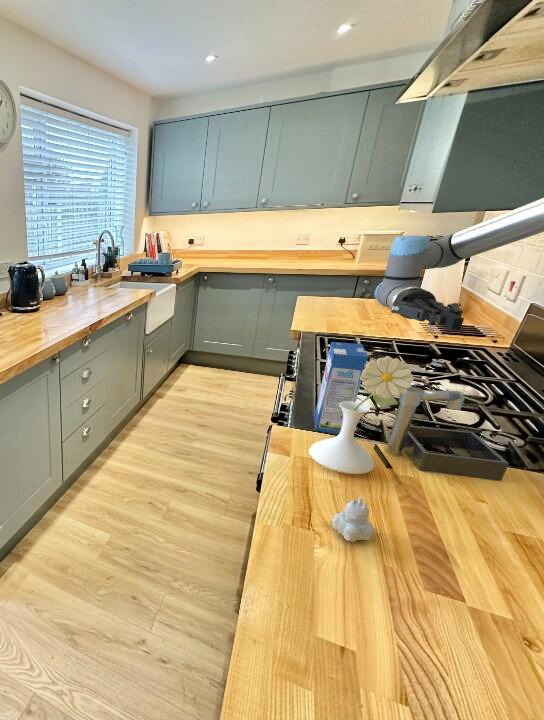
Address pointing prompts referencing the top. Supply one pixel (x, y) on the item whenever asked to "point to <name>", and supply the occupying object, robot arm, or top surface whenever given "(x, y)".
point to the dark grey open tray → (479, 466)
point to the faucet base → (398, 433)
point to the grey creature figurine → (354, 521)
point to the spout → (432, 397)
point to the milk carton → (339, 384)
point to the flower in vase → (343, 449)
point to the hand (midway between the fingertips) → (457, 324)
